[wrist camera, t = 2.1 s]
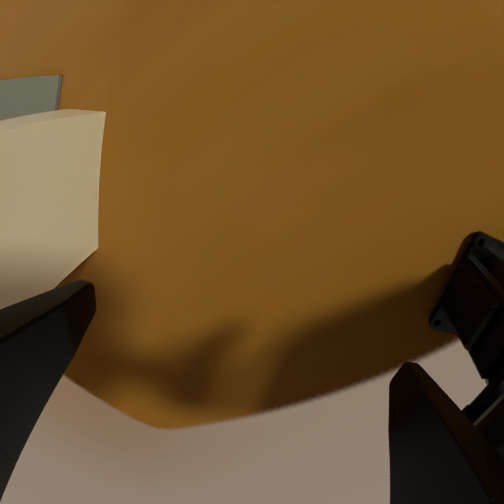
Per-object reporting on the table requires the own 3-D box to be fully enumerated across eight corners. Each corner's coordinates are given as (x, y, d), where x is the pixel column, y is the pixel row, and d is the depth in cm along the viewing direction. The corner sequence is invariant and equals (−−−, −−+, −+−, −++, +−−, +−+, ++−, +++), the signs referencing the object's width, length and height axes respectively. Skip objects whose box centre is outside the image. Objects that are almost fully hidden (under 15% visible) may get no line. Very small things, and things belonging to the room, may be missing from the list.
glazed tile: (105, 112, 13) (-66, 153, 4) (98, 247, 17) (-13, 359, 8) (64, 109, 13) (-92, 149, 4) (61, 236, 17) (-49, 329, 8)
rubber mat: (62, 75, 12) (59, 74, 12) (58, 261, 18) (55, 263, 17) (-29, 85, 12) (-31, 86, 12) (-25, 226, 18) (-28, 228, 17)
